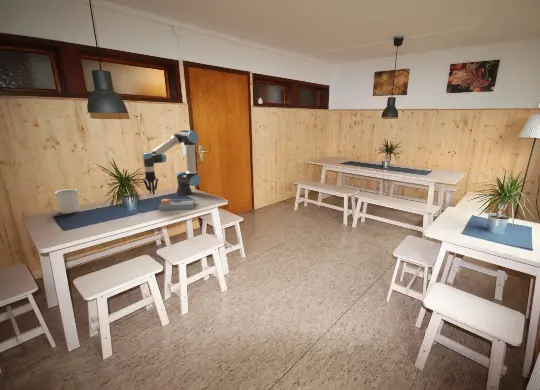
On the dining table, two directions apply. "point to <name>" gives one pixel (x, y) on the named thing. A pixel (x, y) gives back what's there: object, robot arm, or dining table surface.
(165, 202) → the block
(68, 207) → the utensil holder
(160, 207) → the trap tray
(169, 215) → the dining table surface
